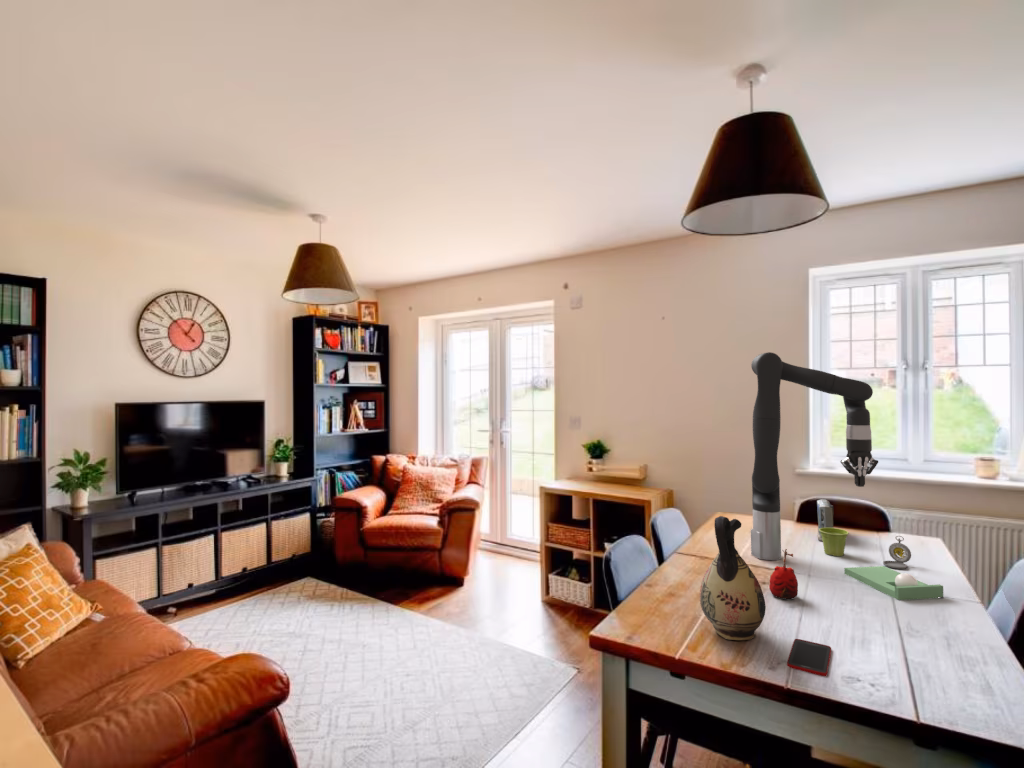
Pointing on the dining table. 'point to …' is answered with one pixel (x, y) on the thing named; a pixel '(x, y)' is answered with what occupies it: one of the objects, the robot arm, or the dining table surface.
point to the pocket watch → (899, 550)
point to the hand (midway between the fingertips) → (860, 486)
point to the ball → (905, 580)
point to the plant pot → (834, 540)
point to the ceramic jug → (731, 588)
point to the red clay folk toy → (784, 581)
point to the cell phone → (809, 657)
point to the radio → (824, 515)
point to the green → (893, 583)
